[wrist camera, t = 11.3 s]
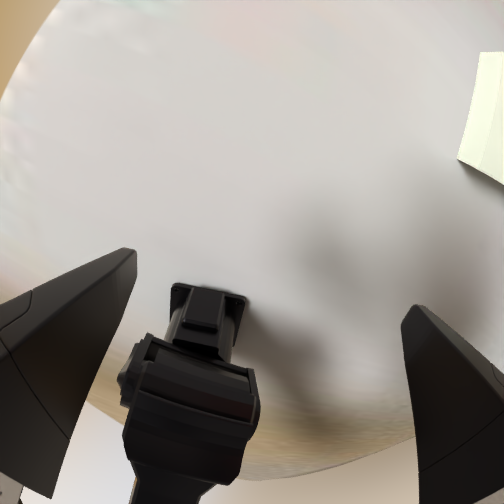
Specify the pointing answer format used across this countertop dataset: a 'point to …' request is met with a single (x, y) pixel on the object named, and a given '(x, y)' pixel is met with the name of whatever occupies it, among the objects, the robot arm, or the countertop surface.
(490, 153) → the plinth
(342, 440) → the countertop surface
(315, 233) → the countertop surface
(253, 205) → the countertop surface
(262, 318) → the countertop surface
